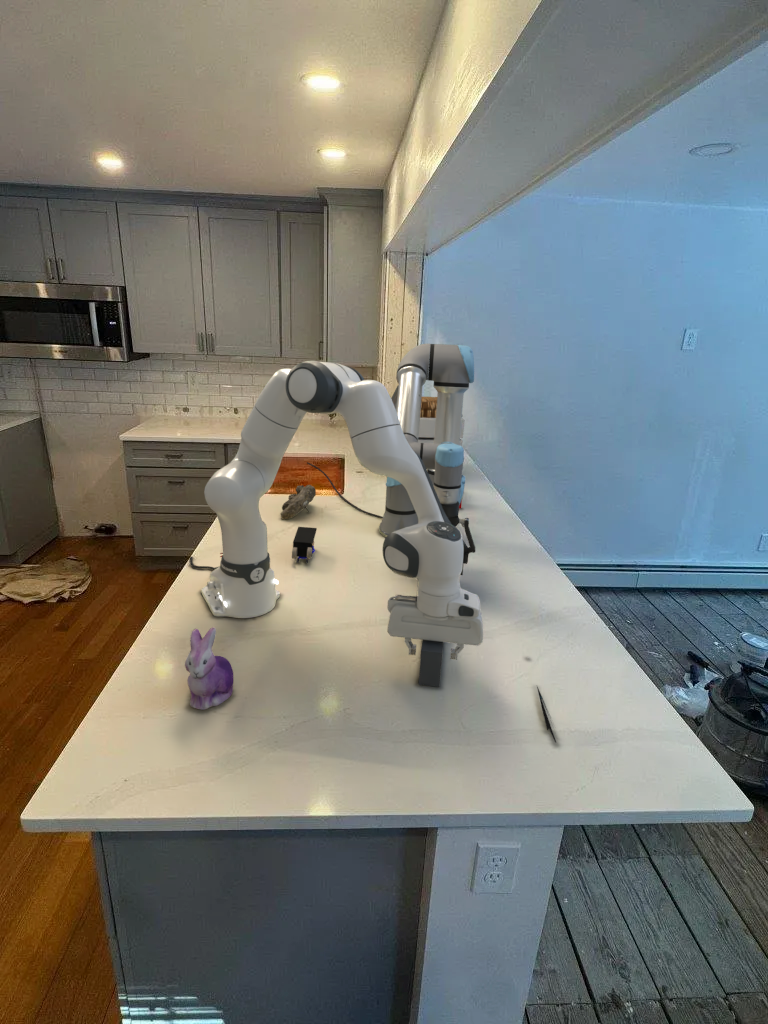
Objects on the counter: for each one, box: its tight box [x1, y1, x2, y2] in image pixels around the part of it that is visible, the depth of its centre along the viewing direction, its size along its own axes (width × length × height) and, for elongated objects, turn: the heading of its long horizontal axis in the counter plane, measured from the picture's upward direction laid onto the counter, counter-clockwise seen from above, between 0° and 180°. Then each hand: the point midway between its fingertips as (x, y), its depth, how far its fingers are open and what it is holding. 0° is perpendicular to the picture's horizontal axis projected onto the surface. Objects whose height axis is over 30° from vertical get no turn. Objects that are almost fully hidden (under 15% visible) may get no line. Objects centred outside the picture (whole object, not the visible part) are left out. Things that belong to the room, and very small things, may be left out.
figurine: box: [184, 626, 234, 711], centre depth 111 cm, size 9×10×15 cm
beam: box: [418, 640, 444, 688], centre depth 143 cm, size 54×4×9 cm, turn 172°
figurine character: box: [291, 526, 318, 564], centre depth 177 cm, size 7×8×15 cm
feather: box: [527, 657, 557, 743], centre depth 118 cm, size 2×28×2 cm
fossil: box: [280, 484, 317, 520], centre depth 215 cm, size 22×10×15 cm
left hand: (432, 655), depth 122 cm, fingers open, 8 cm apart
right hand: (440, 571), depth 165 cm, fingers open, 11 cm apart
